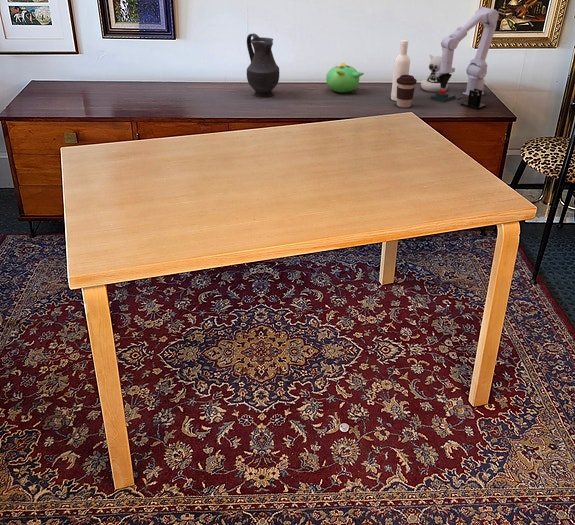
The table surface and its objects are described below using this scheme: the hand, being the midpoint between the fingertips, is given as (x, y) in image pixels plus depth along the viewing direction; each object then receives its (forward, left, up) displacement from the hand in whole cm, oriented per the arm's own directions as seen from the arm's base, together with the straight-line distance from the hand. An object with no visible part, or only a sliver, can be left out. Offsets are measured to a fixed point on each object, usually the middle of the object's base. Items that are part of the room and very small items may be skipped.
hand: (443, 87), depth 333 cm
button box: (-1, 0, -6) cm, 6 cm away
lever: (-2, +15, -2) cm, 15 cm away
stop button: (0, 0, -3) cm, 3 cm away
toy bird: (+31, -43, -6) cm, 53 cm away
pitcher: (+67, -69, -6) cm, 96 cm away
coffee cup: (+25, -6, -6) cm, 26 cm away
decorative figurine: (-11, -13, -6) cm, 18 cm away
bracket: (-2, +18, -6) cm, 19 cm away
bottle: (+18, -15, -6) cm, 24 cm away
